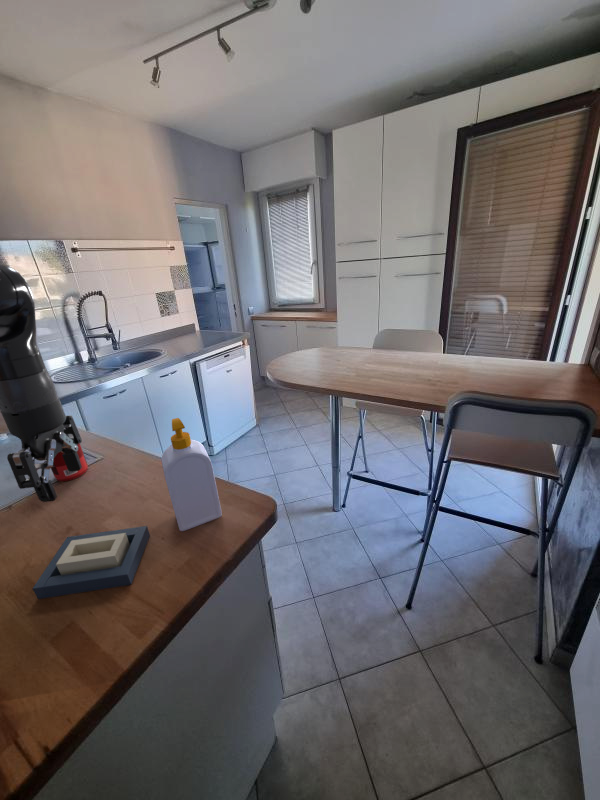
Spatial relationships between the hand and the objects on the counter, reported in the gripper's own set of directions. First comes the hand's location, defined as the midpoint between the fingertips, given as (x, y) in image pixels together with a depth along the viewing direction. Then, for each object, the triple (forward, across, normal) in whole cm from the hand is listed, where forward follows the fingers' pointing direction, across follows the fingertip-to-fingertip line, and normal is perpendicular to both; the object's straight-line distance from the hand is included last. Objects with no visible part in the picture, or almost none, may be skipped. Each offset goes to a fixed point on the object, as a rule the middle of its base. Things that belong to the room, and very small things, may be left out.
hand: (63, 484), depth 59 cm
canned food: (+17, -31, -19) cm, 40 cm away
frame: (+16, +3, +3) cm, 17 cm away
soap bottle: (+16, -7, +20) cm, 27 cm away
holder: (+17, +3, +3) cm, 17 cm away
